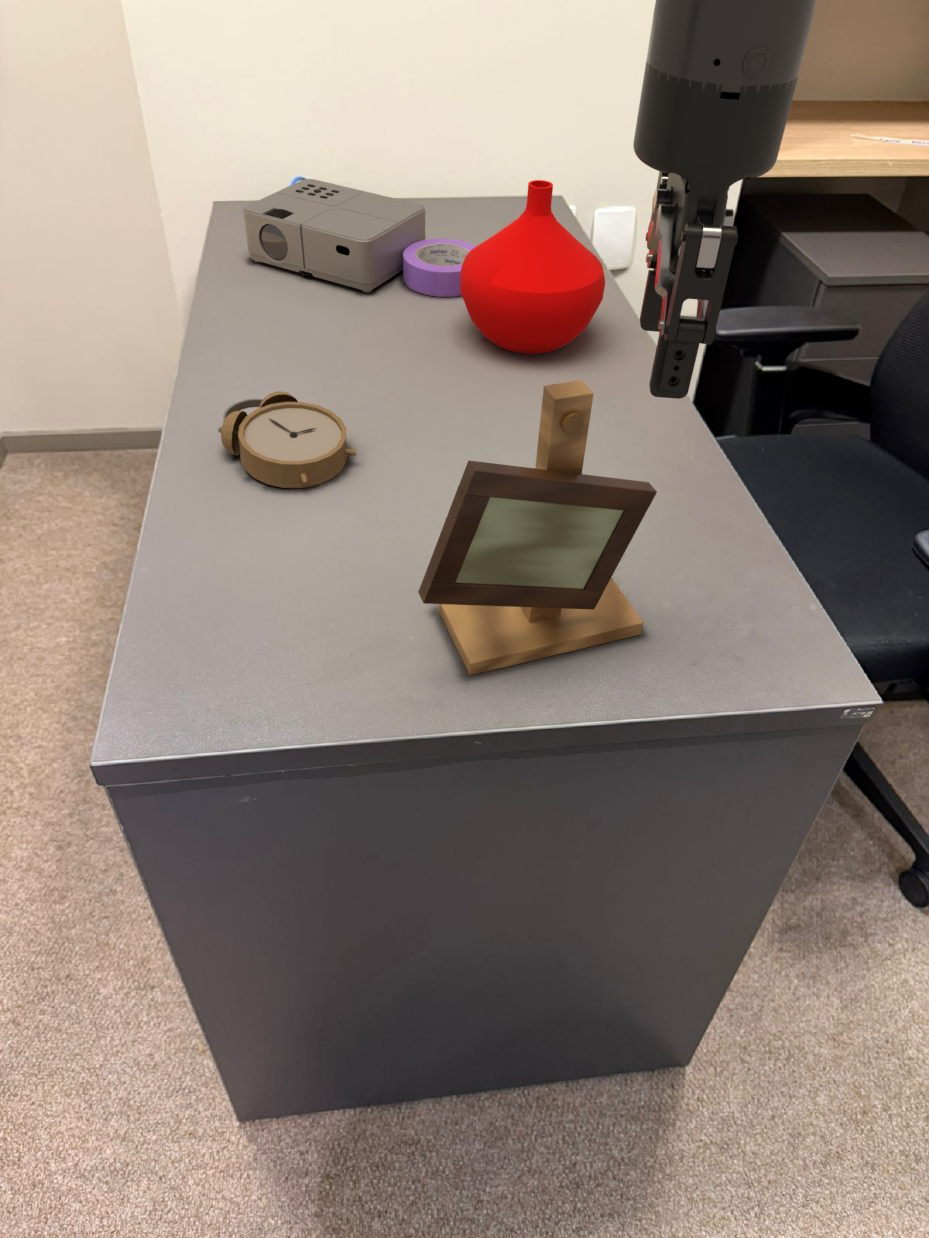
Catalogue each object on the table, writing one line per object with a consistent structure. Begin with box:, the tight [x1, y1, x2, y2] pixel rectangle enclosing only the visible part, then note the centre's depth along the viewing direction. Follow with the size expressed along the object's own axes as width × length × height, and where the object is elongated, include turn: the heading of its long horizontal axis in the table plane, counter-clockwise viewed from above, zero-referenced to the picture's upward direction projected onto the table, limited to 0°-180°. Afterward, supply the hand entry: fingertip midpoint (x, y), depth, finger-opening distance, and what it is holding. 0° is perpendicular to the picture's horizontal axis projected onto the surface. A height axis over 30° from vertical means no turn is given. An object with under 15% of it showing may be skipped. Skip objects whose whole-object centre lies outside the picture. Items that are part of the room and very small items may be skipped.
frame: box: [417, 460, 658, 610], centre depth 69 cm, size 16×1×12 cm, turn 109°
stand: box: [438, 379, 644, 676], centre depth 71 cm, size 16×8×23 cm, turn 110°
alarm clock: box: [217, 391, 357, 489], centre depth 96 cm, size 11×5×15 cm
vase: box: [460, 179, 606, 355], centre depth 112 cm, size 18×18×19 cm
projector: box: [242, 178, 426, 294], centre depth 132 cm, size 17×22×8 cm
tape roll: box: [402, 238, 477, 298], centre depth 130 cm, size 12×12×4 cm
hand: (661, 360), depth 56 cm, fingers open, 8 cm apart
